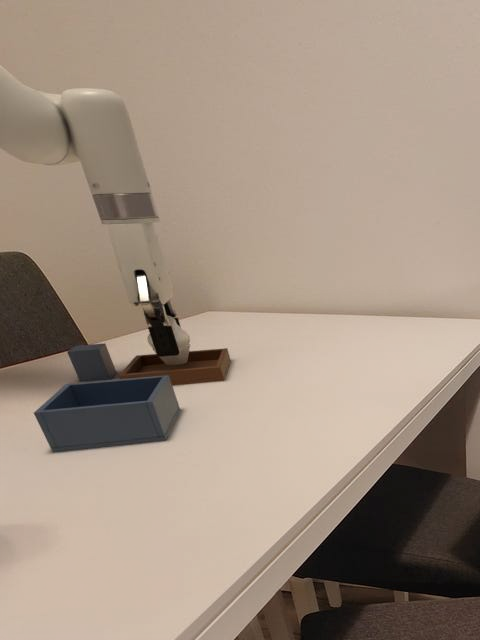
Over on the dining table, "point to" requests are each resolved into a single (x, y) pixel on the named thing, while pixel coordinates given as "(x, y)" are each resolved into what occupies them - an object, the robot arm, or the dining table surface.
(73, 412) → the blue bin
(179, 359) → the muffin
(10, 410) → the dining table surface
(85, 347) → the blue block
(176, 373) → the brown tray
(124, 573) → the dining table surface
